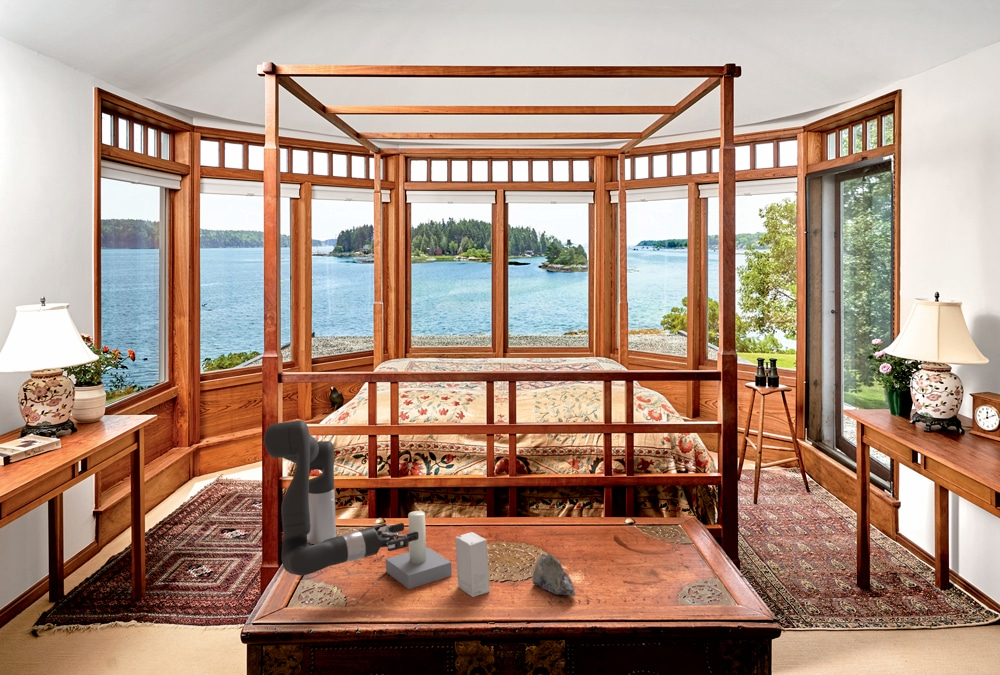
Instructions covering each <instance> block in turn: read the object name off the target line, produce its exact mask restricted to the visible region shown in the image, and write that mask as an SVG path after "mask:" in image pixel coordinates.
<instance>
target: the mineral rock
mask: <svg viewBox="0 0 1000 675" xmlns="http://www.w3.org/2000/svg"><path fill="white" fill-rule="evenodd" d="M532 585H534V586H538V587H539V588H541V589H542V590H545V591H547V592H549V593H552V594H553V595H564V596H570V597H575V596H576V592H575V591H576V590H575V588H574V584H573V582H572V580H571V577H570V576H569V575H568V573H566V571H564V568H563V565H562V564H561V562H560V560H558V558H556V557H555V556H554V555H553V554H548V553H546V552H544V553H541V555H540V556H539V558H538V559H537V561H536V565H535V568H534V570H533V573H532Z"/></svg>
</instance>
